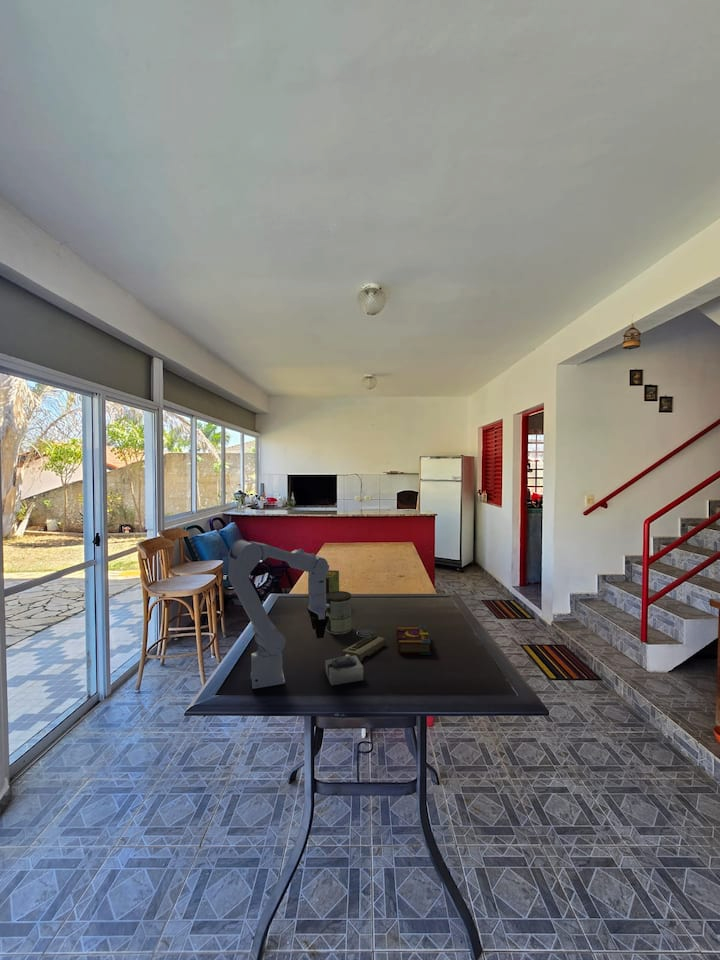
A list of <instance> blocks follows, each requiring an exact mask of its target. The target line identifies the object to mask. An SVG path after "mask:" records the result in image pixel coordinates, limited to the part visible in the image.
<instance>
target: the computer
mask: <svg viewBox="0 0 720 960" xmlns="http://www.w3.org/2000/svg"><path fill="white" fill-rule="evenodd" d="M368 636H369V637H368ZM368 636H366V637H367V638H366V637H365V638H363V639H360V641H357V642H356V643H354V644H352V645H351V646H348V647H347V648H345V649H343V650H342V652H341V655H342V656H345V655H347V654H348V655H350V656H355V655H356V656H357V658H358V659H359V661H360V663H361V662H362V661H364V658H366V657H365V656H369V657H370V656H372V655H373V654H375V653H377V651H379V650H381V649H382V648H383V647H386V646H387V641H386V638H385V637H380V636H374V635H368ZM371 654H372V655H371ZM342 656H341V657H342Z"/></svg>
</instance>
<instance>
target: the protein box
mask: <svg viewBox="0 0 720 960" xmlns="http://www.w3.org/2000/svg"><path fill="white" fill-rule="evenodd" d="M307 580H308V582H307V584H308V585H307V588H308V589H307V590H308V597H309V577H308V578H307ZM334 591H340V570H333V569H332V570H330V569H329V570H328V572H327V574H326V594H327V593H330V592H334Z"/></svg>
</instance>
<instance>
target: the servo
mask: <svg viewBox="0 0 720 960" xmlns="http://www.w3.org/2000/svg"><path fill="white" fill-rule="evenodd" d="M334 659H335V660H332V661H331V663H332V665H333V667H335V668H341V667H347V666H353V664H357V662H356V660H355V659H354V657H351V656H350V655H348V654H347V655H345V656H336V657H335V656H334Z"/></svg>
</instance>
